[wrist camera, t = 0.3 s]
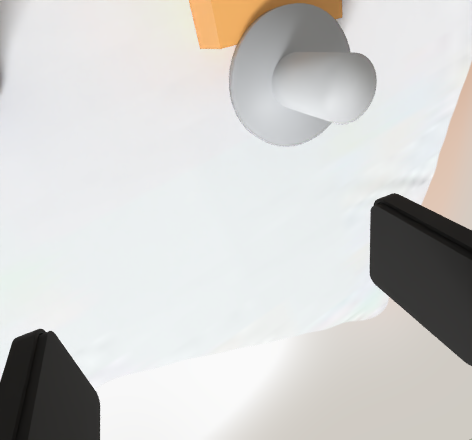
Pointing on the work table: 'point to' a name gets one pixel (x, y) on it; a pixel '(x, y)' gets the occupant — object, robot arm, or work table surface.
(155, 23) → the work table surface
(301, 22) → the orange block with cylinder
